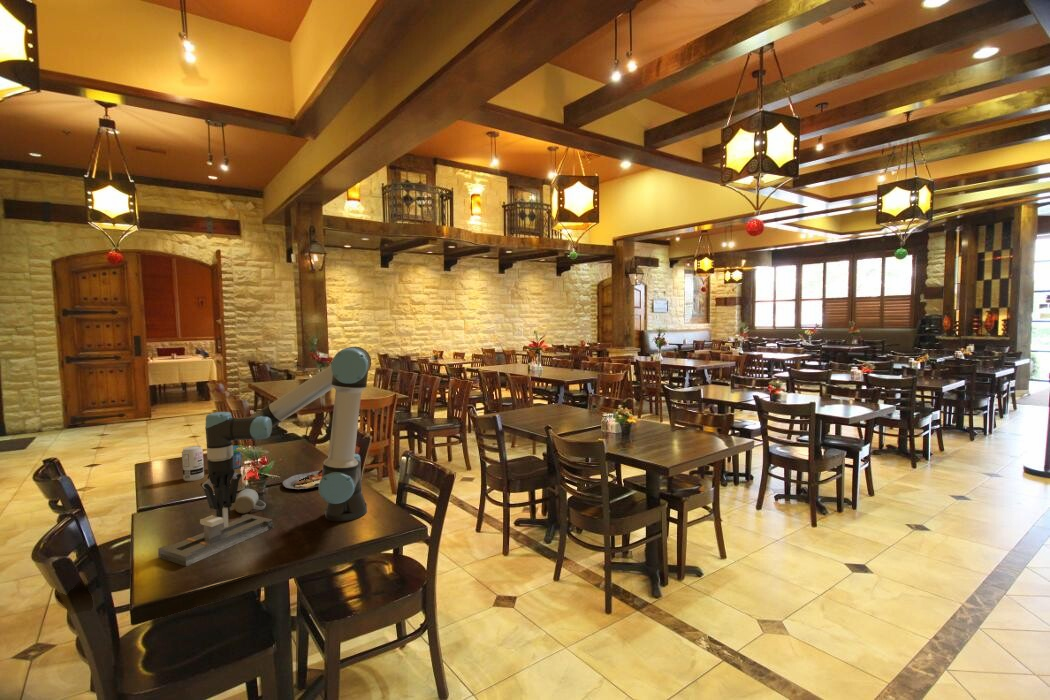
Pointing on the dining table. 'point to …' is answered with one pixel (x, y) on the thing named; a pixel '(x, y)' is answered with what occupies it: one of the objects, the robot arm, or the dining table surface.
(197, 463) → the supplement can
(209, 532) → the fader tab
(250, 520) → the slider track base
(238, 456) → the snack cup
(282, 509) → the dining table surface
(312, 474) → the food plate
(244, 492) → the ceramic mug
